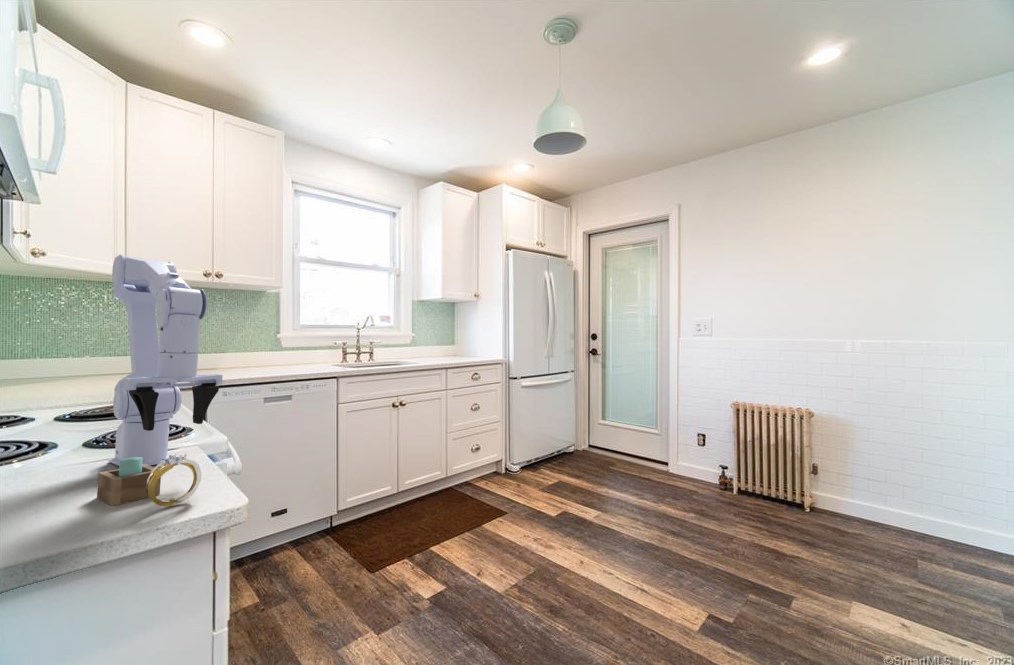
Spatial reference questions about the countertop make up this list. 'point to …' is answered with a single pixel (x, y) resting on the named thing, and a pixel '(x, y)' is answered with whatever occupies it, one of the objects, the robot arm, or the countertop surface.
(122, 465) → the teal cylinder
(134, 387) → the robot arm
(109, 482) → the bead block
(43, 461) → the countertop surface
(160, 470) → the ring
